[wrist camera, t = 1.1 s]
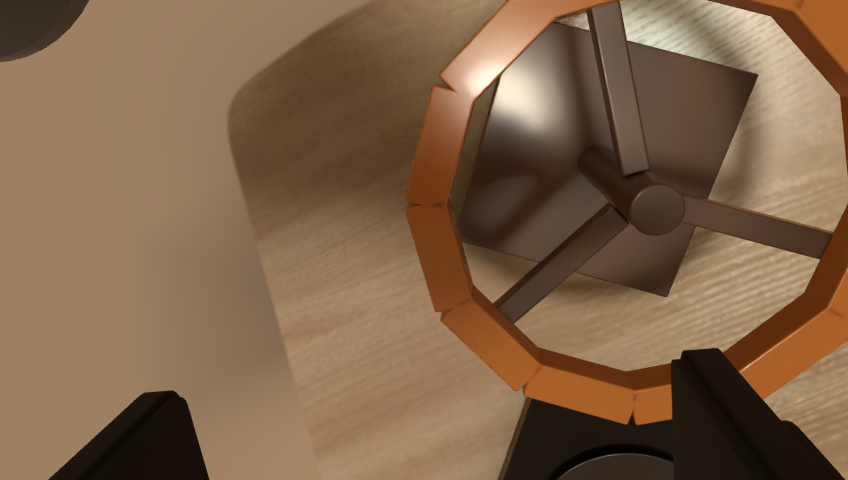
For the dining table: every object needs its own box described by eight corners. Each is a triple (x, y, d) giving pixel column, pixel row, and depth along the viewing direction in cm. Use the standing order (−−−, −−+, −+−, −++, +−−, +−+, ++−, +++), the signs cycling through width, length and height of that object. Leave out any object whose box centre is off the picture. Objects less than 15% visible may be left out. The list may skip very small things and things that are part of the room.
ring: (374, 335, 23) (366, 353, 22) (483, -109, 18) (483, -125, 17) (769, 446, 22) (789, 471, 21) (991, 17, 18) (1036, 12, 16)
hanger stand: (447, 262, 33) (424, 365, 21) (526, -23, 28) (553, -97, 16) (695, 329, 32) (815, 475, 20) (816, 51, 28) (1064, 30, 16)
